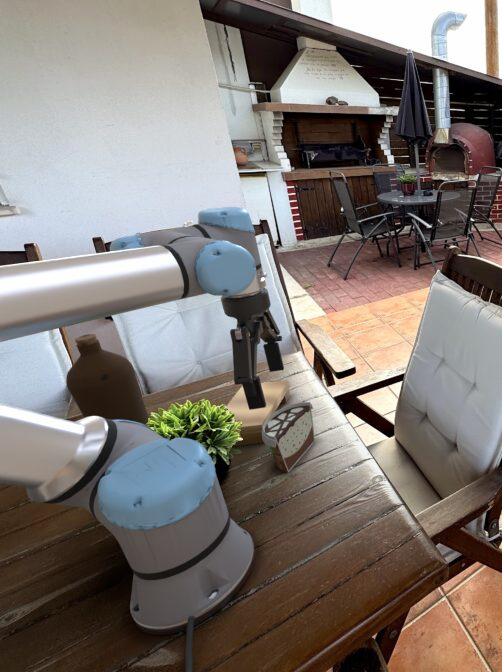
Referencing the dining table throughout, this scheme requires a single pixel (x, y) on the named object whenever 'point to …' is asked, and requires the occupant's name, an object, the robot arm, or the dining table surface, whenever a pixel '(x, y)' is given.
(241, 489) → the dining table surface
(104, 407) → the olive oil
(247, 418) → the tan wooden block
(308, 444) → the food container
